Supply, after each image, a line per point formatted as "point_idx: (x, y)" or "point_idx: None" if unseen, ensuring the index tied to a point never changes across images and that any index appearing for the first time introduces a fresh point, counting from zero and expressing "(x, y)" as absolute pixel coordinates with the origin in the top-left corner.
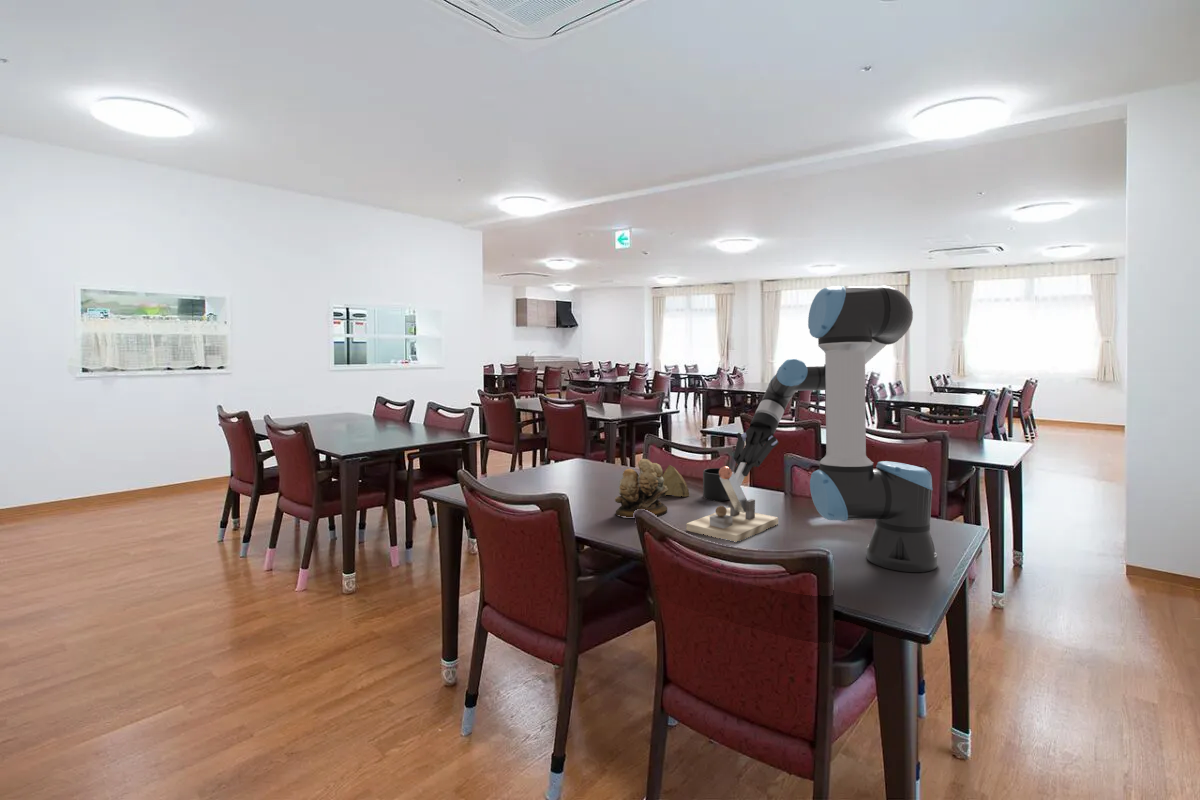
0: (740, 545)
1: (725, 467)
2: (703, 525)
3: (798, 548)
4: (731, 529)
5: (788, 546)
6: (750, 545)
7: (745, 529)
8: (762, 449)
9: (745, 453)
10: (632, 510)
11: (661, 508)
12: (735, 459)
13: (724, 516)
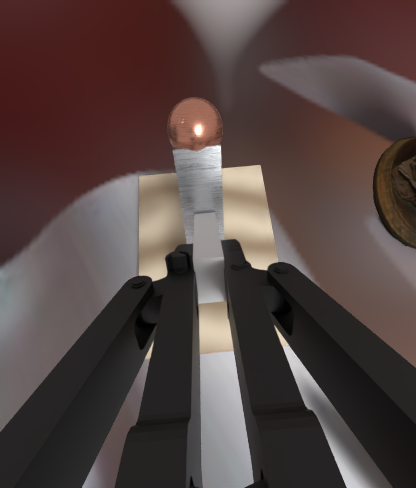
0: (131, 180)
1: (185, 100)
2: (226, 177)
3: (38, 240)
4: (168, 197)
5: (58, 236)
6: (117, 192)
7: (147, 216)
8: (76, 371)
9: (231, 305)
10: (408, 149)
11: (394, 210)
12: (273, 264)
13: None
